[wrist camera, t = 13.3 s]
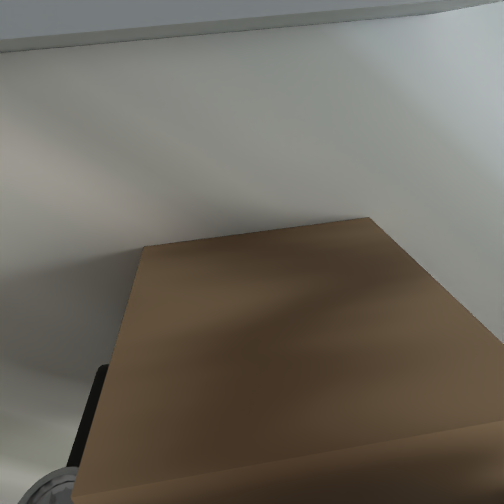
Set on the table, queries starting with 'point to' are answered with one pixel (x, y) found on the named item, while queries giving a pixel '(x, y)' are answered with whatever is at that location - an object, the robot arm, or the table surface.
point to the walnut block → (296, 379)
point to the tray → (183, 18)
